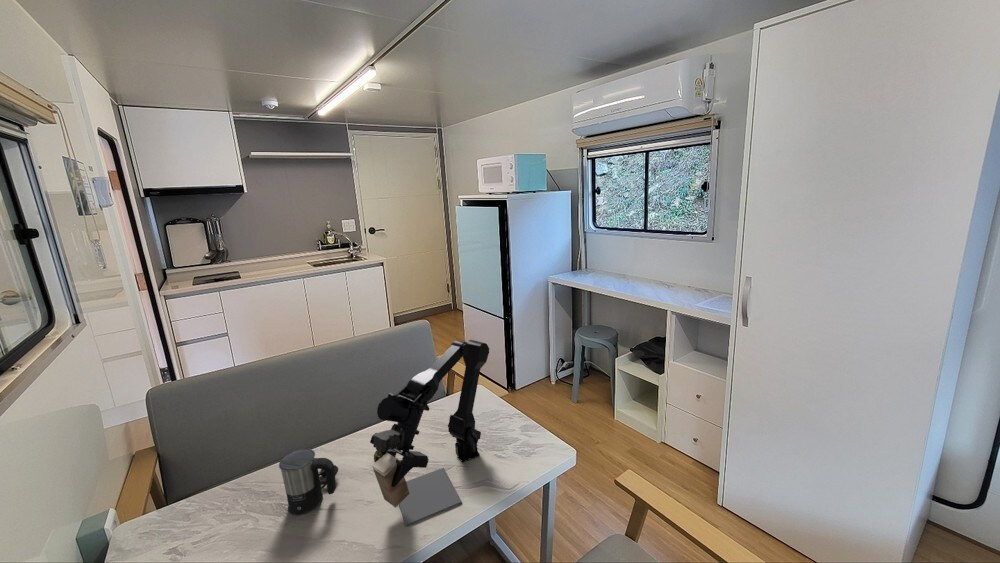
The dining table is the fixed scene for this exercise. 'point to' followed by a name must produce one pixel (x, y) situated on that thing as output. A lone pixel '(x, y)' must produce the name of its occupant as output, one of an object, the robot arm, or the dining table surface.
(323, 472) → the milk frother
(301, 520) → the dining table surface
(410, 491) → the charcoal mat
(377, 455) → the tape measure
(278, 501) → the dining table surface
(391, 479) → the wooden block
